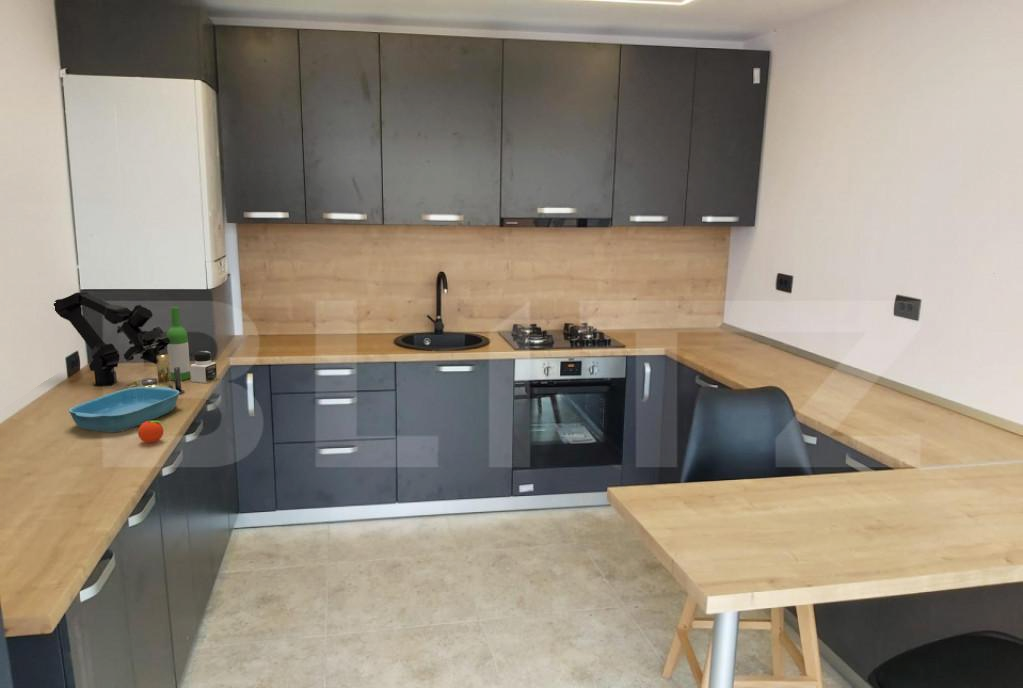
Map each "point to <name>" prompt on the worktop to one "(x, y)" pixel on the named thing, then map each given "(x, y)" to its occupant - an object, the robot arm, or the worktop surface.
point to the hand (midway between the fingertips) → (162, 365)
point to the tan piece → (163, 374)
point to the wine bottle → (178, 347)
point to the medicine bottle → (203, 368)
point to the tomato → (150, 431)
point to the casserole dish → (124, 408)
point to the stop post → (178, 380)
